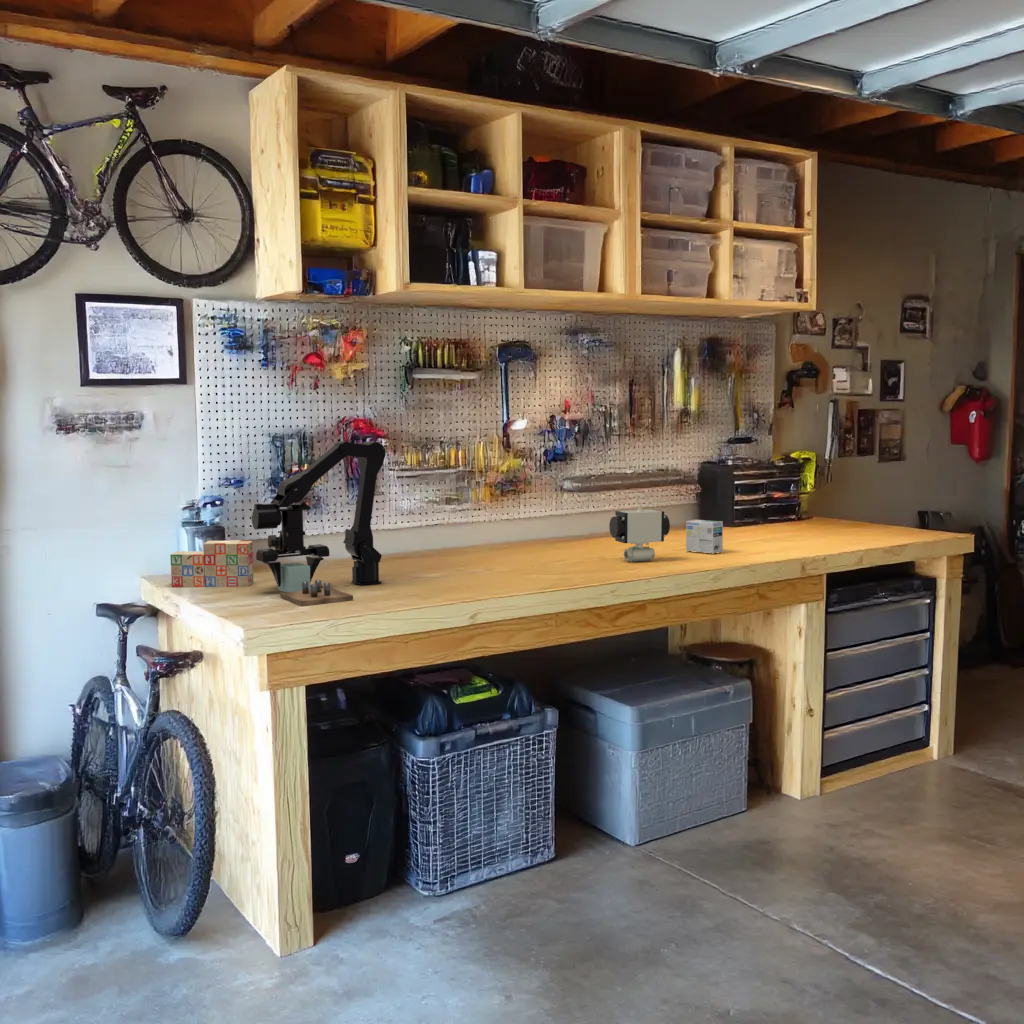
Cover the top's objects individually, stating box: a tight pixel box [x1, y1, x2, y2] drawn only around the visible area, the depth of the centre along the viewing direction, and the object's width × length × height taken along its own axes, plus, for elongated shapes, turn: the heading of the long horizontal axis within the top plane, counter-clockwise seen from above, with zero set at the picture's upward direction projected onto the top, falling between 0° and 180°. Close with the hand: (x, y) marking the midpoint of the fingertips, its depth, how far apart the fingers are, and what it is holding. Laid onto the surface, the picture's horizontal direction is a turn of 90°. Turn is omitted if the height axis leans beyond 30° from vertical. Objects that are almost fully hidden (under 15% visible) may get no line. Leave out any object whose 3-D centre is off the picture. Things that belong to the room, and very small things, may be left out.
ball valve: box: [608, 505, 671, 563], centre depth 322 cm, size 18×8×18 cm, turn 108°
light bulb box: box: [685, 519, 724, 553], centre depth 341 cm, size 11×7×11 cm, turn 49°
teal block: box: [277, 561, 311, 593], centre depth 273 cm, size 6×8×7 cm
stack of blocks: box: [169, 539, 255, 588], centre depth 281 cm, size 21×6×12 cm, turn 92°
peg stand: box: [279, 579, 354, 607], centre depth 260 cm, size 14×14×4 cm
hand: (294, 584), depth 273 cm, fingers open, 8 cm apart
